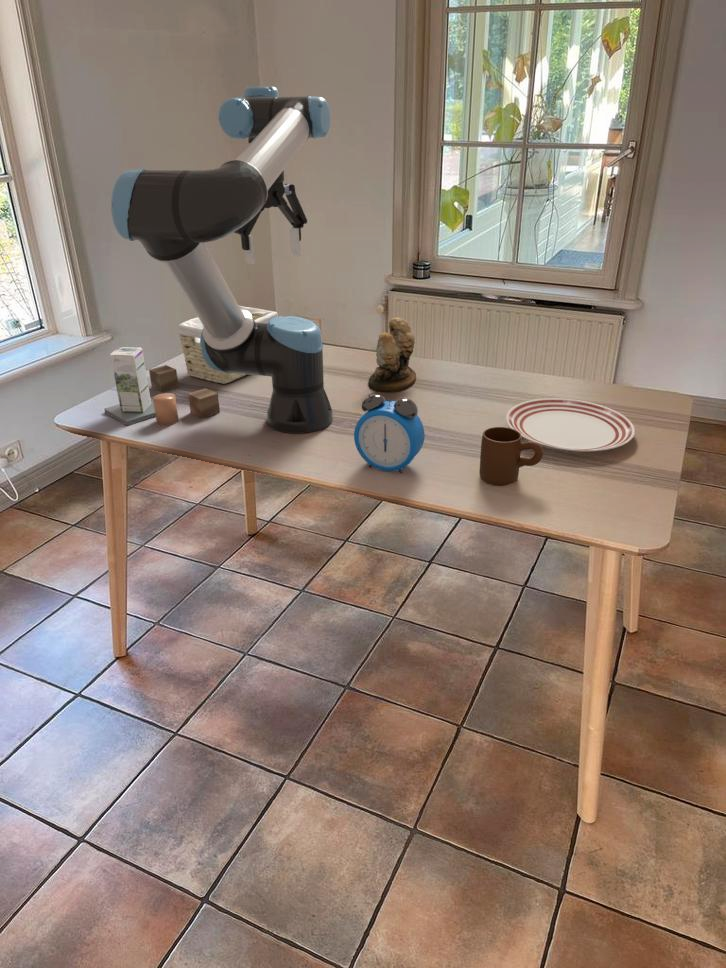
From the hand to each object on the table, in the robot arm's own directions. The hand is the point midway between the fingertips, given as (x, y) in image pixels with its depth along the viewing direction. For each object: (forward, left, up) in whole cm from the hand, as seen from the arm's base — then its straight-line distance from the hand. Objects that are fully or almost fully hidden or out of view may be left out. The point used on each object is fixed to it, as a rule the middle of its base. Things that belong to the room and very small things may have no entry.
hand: (273, 259), depth 175 cm
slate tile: (+10, +37, -32) cm, 49 cm away
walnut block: (-2, +25, -32) cm, 40 cm away
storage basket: (+19, +2, -32) cm, 37 cm away
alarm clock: (-53, +14, -32) cm, 63 cm away
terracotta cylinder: (0, +34, -32) cm, 47 cm away
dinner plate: (-70, -25, -32) cm, 81 cm away
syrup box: (+10, +36, -31) cm, 49 cm away
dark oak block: (+20, +23, -32) cm, 44 cm away
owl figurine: (-19, -22, -32) cm, 43 cm away
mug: (-74, +2, -32) cm, 81 cm away
